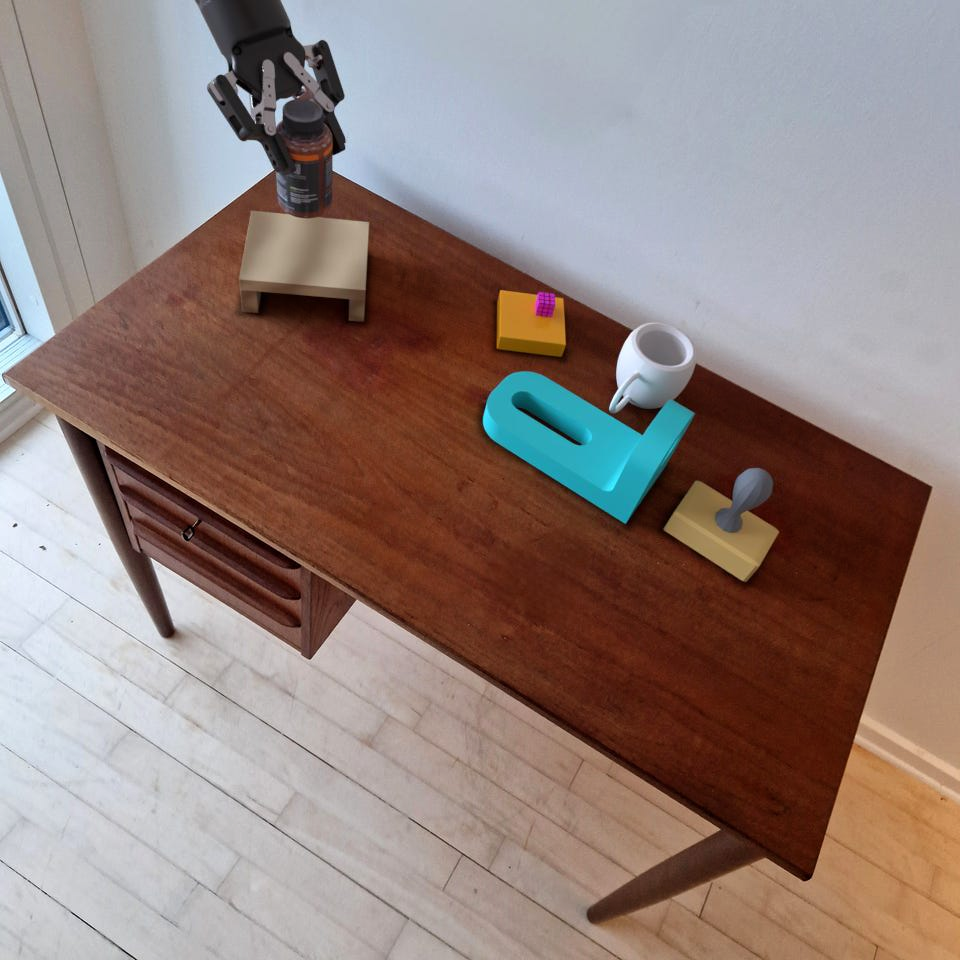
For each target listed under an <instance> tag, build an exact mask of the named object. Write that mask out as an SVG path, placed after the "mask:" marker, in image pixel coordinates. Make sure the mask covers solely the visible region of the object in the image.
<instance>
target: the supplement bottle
mask: <svg viewBox="0 0 960 960" xmlns="http://www.w3.org/2000/svg"><path fill="white" fill-rule="evenodd" d="M281 119H282V120H281V121H279V122H278V124H276V135H278V134H280V135H281V137H282V139H283V141H284V144H285V146H286V148H287V150H288V152H289V154H290V156H291V158H292V160H293V162H294V164H295V167H296V171H295V172H293V173H291V174H289V175H287V176H285V177H283V176H282V175H281V173H280V172H278V173H277V172H276V171H275V179H276V196H277V203H278V205H279V207H280V208H281V209H282V210H283V211H284V213H285V214H290V215H292V216H294V217H298V218H306V219H308V218H315V217H322V216H324V215H325V214H326V213H327V212H328V211H329V210H330V209H331V207H332V203H333V163H334V162H333V161H334V160H333V158H334V157H333V156H334V155H333V148H332V147H333V139H332V134H331V131H330V129H329V128H328V126H327V125H326V124H325V123H323V110H322V108H321V107H320V106H319V105H318V104H317V103H315V102H313V101H311V100H307V99H294V98H293V99H291V100H288V101H286V102H285V103H284V105H283V106H282V117H281Z"/></svg>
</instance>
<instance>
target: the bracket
mask: <svg viewBox="0 0 960 960" xmlns="http://www.w3.org/2000/svg"><path fill="white" fill-rule="evenodd" d="M518 408H521V409H523V410H525V411H527V412H529V413H531V414H532V415H534V416H536V417H537V418H538V419H540V420H542V421H544V422H546V423H547V424H549V425H550V426H551V427H553V428H554V429H556V430H558V431H560V432H561V433H563V434H565V435H566V436H568V437H569V438H571V439H573V440H574V441H576V442H577V443H578V444H575V443H573V442H571V441H570V440H568V439H567V438H565V437H563V436H562V435H561V434H559V433H557V432H555V431H554V430H552V429H550V428H548V427H547V426H546V425H544V424H542V423H541V422H539V421H537V420H536V419H534V418H533V417H531V416H530V415H528V414H526V413H524V412H523V411H522V410H520V409H518ZM695 415H696V413H695V412H693V411H692V410H690V409H688V408H687V407H685V406H683V405H682V404H680V403H679V402H677V401H675V400H671V399H669V400H668V401H667V403H666V404H665V405H664V406H662V407H661V409H660V410H659V411H658V413H657V414H656V416H655V417H654V418H653V420H652V421H651V423H650V424H649V425H648V426H647V428H646V430H645V431H644V433H643V434H641V433H639V432H638V431H636V430H634V429H633V428H631V427H629V426H628V425H626V424H624V422H623V423H622V422H621V421H620V420H618V419H616V418H614V417H613V416H612V415H609V414H607V413H606V412H605V411H603V410H601V409H599V408H598V407H597V406H595V405H593V404H592V403H589V402H588V401H586V400H585V399H583V398H581V397H580V396H578V395H576V394H575V393H574V392H571V391H569V390H568V389H566V388H565V387H563V386H562V385H560V384H558V383H557V382H555V381H553V380H551V379H550V378H548V377H546V376H545V375H543V374H540V373H538V372H534V371H517V372H516V371H515V372H512V373H511V374H508V375H507V376H506V377H504V378H503V379H502V381H500V383H498V384H497V386H496V387H495V388H494V389H493V390H492V391H491V392H490V394H489V395H488V396H487V400H486V405H485V409H484V413H483V416H482V425H483V428H484V430H485V433H486V434H487V435H488V436H489V438H490V439H491V440H493V441H494V442H495V443H497V444H498V445H500V446H501V447H503V448H504V449H506V450H508V451H509V452H510V453H512V454H514V455H516V456H517V457H519V458H520V459H522V460H524V461H525V462H526V463H528V464H530V465H531V466H533V467H534V468H536V469H538V470H539V471H540V472H542V473H544V474H545V475H547V476H549V477H550V478H552V479H554V480H555V481H556V482H558V483H560V484H561V485H563V486H565V487H566V488H568V489H570V490H571V491H572V492H574V493H576V494H577V495H579V496H581V497H582V498H584V499H585V500H587V501H588V502H590V503H592V504H593V505H594V506H596V507H598V508H599V509H601V510H603V512H606V513H607V514H609V515H611V516H612V517H613V518H616V520H619V521H620V522H622V523H623V524H627V523H628V521H629V520H630V518H631V517H632V516H633V514H634V513H635V511H636V510H637V508H638V507H639V505H640V504H641V503H642V501H643V500H644V499H645V497H646V496H647V494H648V492H649V491H650V489H651V488H652V487H653V486H654V484H655V483H656V481H657V480H658V478H659V476H660V475H661V474H662V472H663V471H664V470H665V468H666V466H667V465H668V462H669V461H670V459H671V458H672V456H673V454H674V452H675V450H676V449H677V447H678V445H679V443H680V441H681V440H682V439H683V437H684V434H685V433H686V431H687V429H688V427H689V426H690V424H691V423H692V421H693V419H694V418H695ZM580 444H581V445H580Z"/></svg>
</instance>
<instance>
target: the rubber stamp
mask: <svg viewBox="0 0 960 960" xmlns="http://www.w3.org/2000/svg"><path fill="white" fill-rule="evenodd" d="M773 487H774V480H773V479H772V476H771V474H770V473H769V472H767V471H766V470H765V469H763V468H760V467H752V468H747V469H745V470H744V471H743V472H742V473H741V474H739V475H738V476H737V477H736V479H735V481H734V485H733V489H732V500H731V499H730V498H728V497H726V496H725V495H723V494H722V493H720V492H718V491H717V490H715V489H714V488H712V487H710V486H709V485H707V484H705V483H704V482H702V481H700V480H695V481H694V483H693V484H692V486H691V487H690V488H689V489H688V491H687V493H686V494H685V495H684V497H683V498H682V500H681V501H680V503H679V504H678V505H677V507H676V508H675V509H674V511H673V513H672V514H671V515H670V518H669V519H668V520H667V522H666V524H665V526H664V527H663V531H664V532H666V533H667V534H669V535H671V537H673V538H675V539H676V540H678V541H679V542H681V543H683V544H684V545H686V546H687V547H689V548H691V549H692V550H694V551H695V552H697V553H698V554H699V555H701V556H703V557H705V558H706V559H707V560H709V561H711V562H712V563H713V564H715V565H717V566H719V567H720V568H721V569H723V570H724V571H726V572H727V573H729V574H731V575H733V576H734V577H735V578H737V579H738V580H740V581H742V582H745V583H747V582H748V581H749V579H750V578H751V577H752V576H754V574H755V573H756V572H757V570H758V569H759V568H760V566H761V565H762V562H763V561H764V560H765V557H766V556H767V554H768V552H769V550H770V549H771V547H772V545H773V543H775V540H776V538H777V537H778V535H779V533H780V531H779V530H778V529H777V528H776V527H775V526H774V525H772V524H770V523H768V522H766V521H765V520H763V519H762V518H760V517H758V516H757V515H756V514H753V513H752V512H750V510H753V509H755V508H757V507H759V506H761V505H762V504H763V503H765V502H766V501H767V500H768V499H770V497H771V495H772V493H773Z"/></svg>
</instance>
